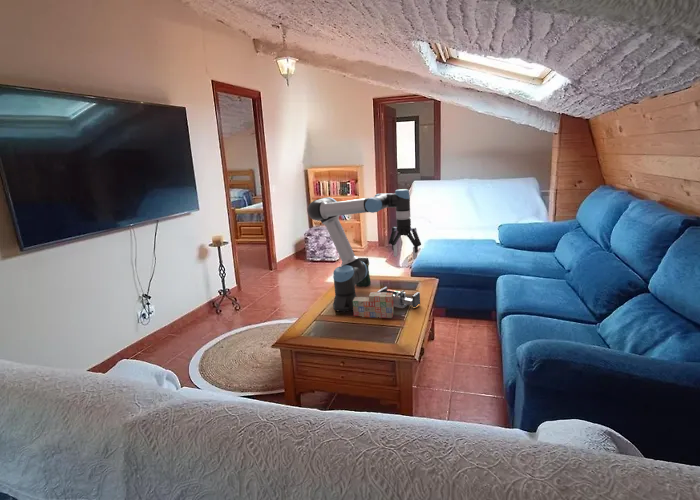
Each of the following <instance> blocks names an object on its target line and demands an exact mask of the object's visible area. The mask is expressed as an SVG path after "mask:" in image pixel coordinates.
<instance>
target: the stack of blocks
mask: <svg viewBox="0 0 700 500" xmlns="http://www.w3.org/2000/svg"><path fill="white" fill-rule="evenodd" d="M394 308H395V307H394V305H393V293H387V292H377V291H372V292H371V291H370V293H369V295H368V296H367V297H366V296H357V297H355V298H354V300H353V311H352V312H353V317H354V316H362V317H361V318H378V317H379V318H382V319H383V318H384V319H393V317H394V313H395V310H394Z"/></svg>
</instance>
